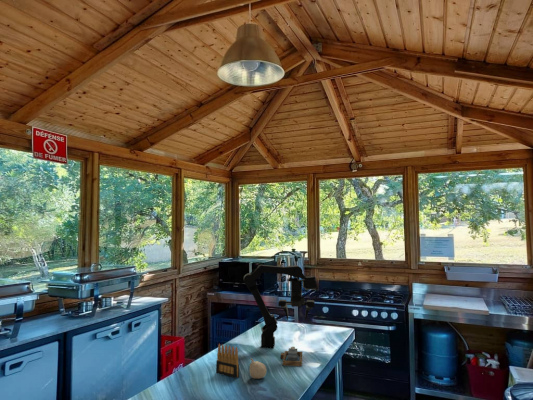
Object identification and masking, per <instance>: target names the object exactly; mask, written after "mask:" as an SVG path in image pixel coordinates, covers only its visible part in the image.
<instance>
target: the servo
mask: <svg viewBox="0 0 533 400" xmlns="http://www.w3.org/2000/svg"><path fill="white" fill-rule="evenodd" d="M287 351H288V356H287V361H298V356H297V351H298V348H296V347H295V346H290V348H289V347H288V350H287Z"/></svg>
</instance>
